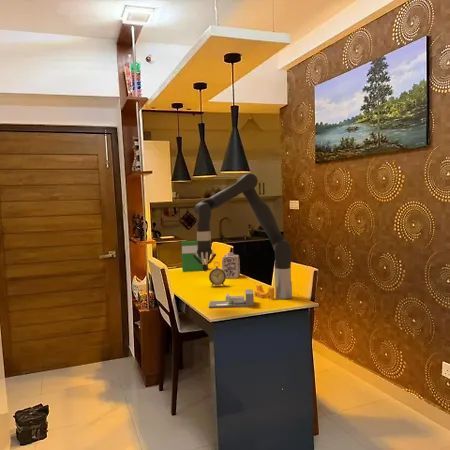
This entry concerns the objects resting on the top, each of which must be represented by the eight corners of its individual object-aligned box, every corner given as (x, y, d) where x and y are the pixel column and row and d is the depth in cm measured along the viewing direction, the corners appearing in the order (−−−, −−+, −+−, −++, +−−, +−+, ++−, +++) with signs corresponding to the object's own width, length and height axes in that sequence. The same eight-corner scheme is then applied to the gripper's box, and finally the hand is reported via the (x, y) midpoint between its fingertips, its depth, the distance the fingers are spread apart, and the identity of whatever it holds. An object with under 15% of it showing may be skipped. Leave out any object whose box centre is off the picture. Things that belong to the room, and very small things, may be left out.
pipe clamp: (254, 296, 244) (254, 285, 244) (259, 295, 247) (259, 284, 247) (268, 300, 235) (268, 289, 235) (274, 299, 238) (274, 287, 237)
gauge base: (252, 301, 233) (252, 289, 232) (253, 306, 222) (253, 293, 221) (209, 302, 233) (209, 290, 233) (208, 308, 222) (208, 295, 222)
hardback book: (183, 272, 335) (181, 242, 333) (182, 270, 342) (181, 241, 340) (204, 270, 338) (203, 241, 336) (203, 269, 345) (202, 240, 343)
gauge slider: (244, 300, 230) (243, 293, 229) (244, 304, 222) (244, 297, 222) (225, 301, 230) (225, 294, 230) (225, 305, 222) (225, 297, 222)
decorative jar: (222, 278, 302) (221, 253, 301) (224, 275, 314) (223, 251, 313) (238, 278, 301) (237, 253, 299) (240, 275, 312) (239, 251, 311)
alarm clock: (209, 287, 274) (208, 262, 273) (209, 285, 279) (209, 261, 278) (226, 286, 274) (225, 262, 273) (226, 285, 279) (225, 261, 278)
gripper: (216, 238, 229) (217, 269, 230) (192, 239, 229) (193, 270, 231) (215, 239, 222) (217, 271, 223) (191, 240, 222) (192, 272, 223)
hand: (205, 271), depth 227 cm, fingers closed
